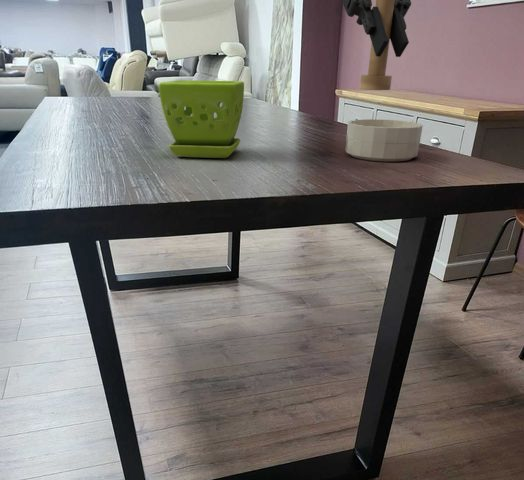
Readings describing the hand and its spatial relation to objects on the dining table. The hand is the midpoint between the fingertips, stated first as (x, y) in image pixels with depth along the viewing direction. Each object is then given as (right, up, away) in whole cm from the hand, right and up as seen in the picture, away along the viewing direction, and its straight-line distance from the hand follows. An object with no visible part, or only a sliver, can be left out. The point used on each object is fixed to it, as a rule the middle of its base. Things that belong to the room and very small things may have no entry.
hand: (392, 49), depth 75 cm
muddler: (-1, -3, +6) cm, 7 cm away
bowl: (+4, -7, +23) cm, 25 cm away
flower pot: (-31, -8, +21) cm, 38 cm away
